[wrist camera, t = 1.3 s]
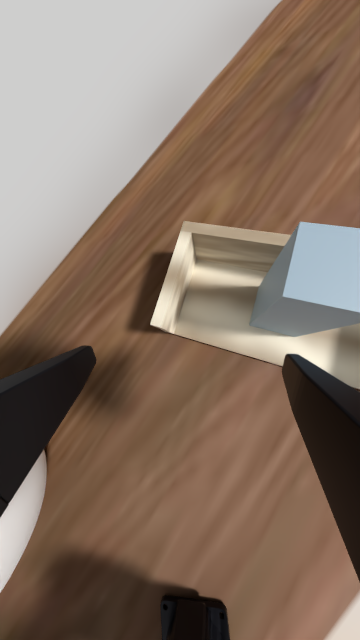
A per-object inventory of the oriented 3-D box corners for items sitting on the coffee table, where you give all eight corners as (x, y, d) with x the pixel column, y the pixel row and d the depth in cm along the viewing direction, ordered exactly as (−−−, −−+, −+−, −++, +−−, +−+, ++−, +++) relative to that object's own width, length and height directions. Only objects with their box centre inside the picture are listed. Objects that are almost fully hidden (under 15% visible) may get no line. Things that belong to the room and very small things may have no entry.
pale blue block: (294, 337, 20) (385, 317, 9) (248, 325, 21) (282, 296, 10) (303, 295, 20) (398, 232, 10) (258, 286, 22) (300, 221, 11)
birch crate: (391, 398, 18) (477, 420, 12) (166, 331, 23) (150, 324, 18) (407, 289, 19) (490, 261, 13) (191, 252, 25) (183, 221, 19)
